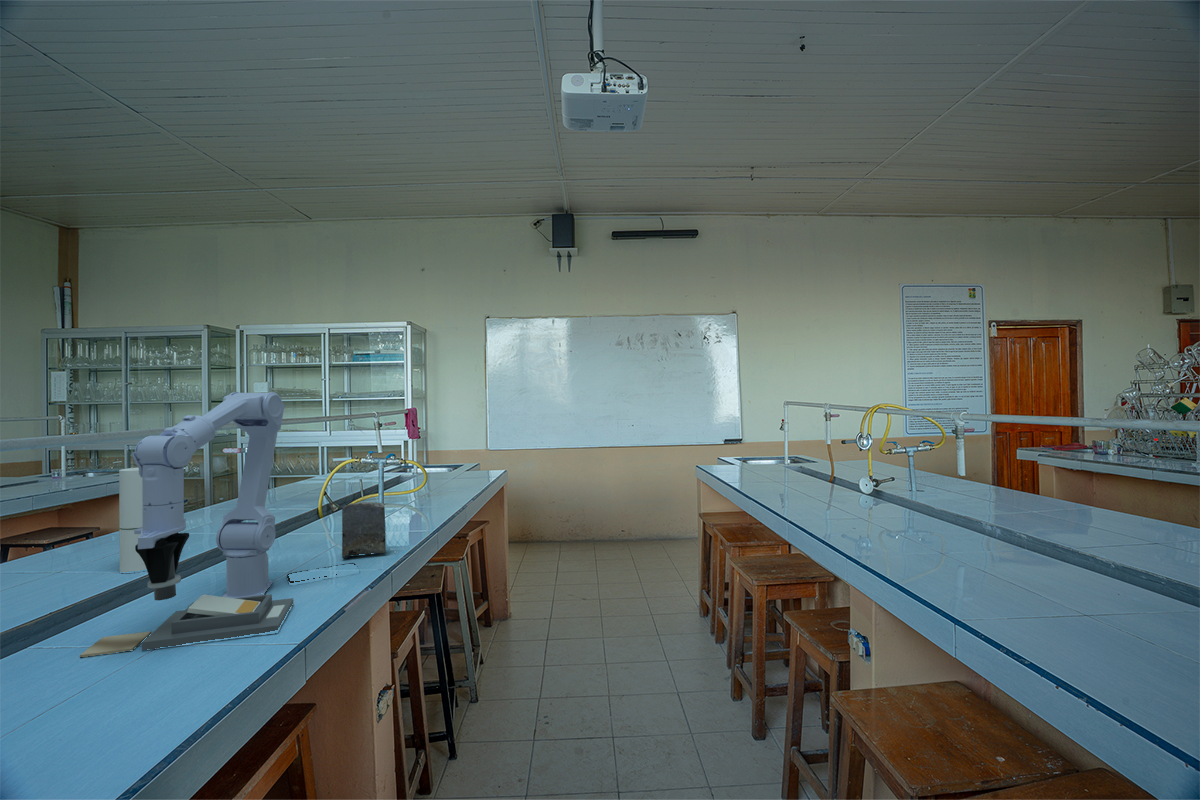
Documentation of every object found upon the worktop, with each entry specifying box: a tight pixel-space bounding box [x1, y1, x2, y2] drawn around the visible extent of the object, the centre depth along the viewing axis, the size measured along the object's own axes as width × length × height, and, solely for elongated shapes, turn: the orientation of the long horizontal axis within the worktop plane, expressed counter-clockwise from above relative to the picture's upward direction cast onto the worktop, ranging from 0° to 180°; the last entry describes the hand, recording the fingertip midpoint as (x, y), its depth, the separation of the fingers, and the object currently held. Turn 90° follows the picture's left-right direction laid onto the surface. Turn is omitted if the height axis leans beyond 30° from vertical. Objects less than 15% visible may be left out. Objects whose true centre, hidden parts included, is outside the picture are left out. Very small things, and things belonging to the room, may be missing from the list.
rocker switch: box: [187, 594, 261, 616], centre depth 100 cm, size 7×10×1 cm
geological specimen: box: [341, 501, 387, 558], centre depth 144 cm, size 11×6×15 cm, turn 114°
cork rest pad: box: [79, 630, 152, 658], centre depth 92 cm, size 7×7×1 cm
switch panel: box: [141, 593, 294, 651], centre depth 100 cm, size 14×20×4 cm
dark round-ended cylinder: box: [147, 553, 182, 601], centre depth 95 cm, size 5×5×9 cm
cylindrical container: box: [118, 467, 146, 572], centre depth 133 cm, size 7×7×25 cm
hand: (163, 579), depth 95 cm, fingers closed on dark round-ended cylinder, 3 cm apart
